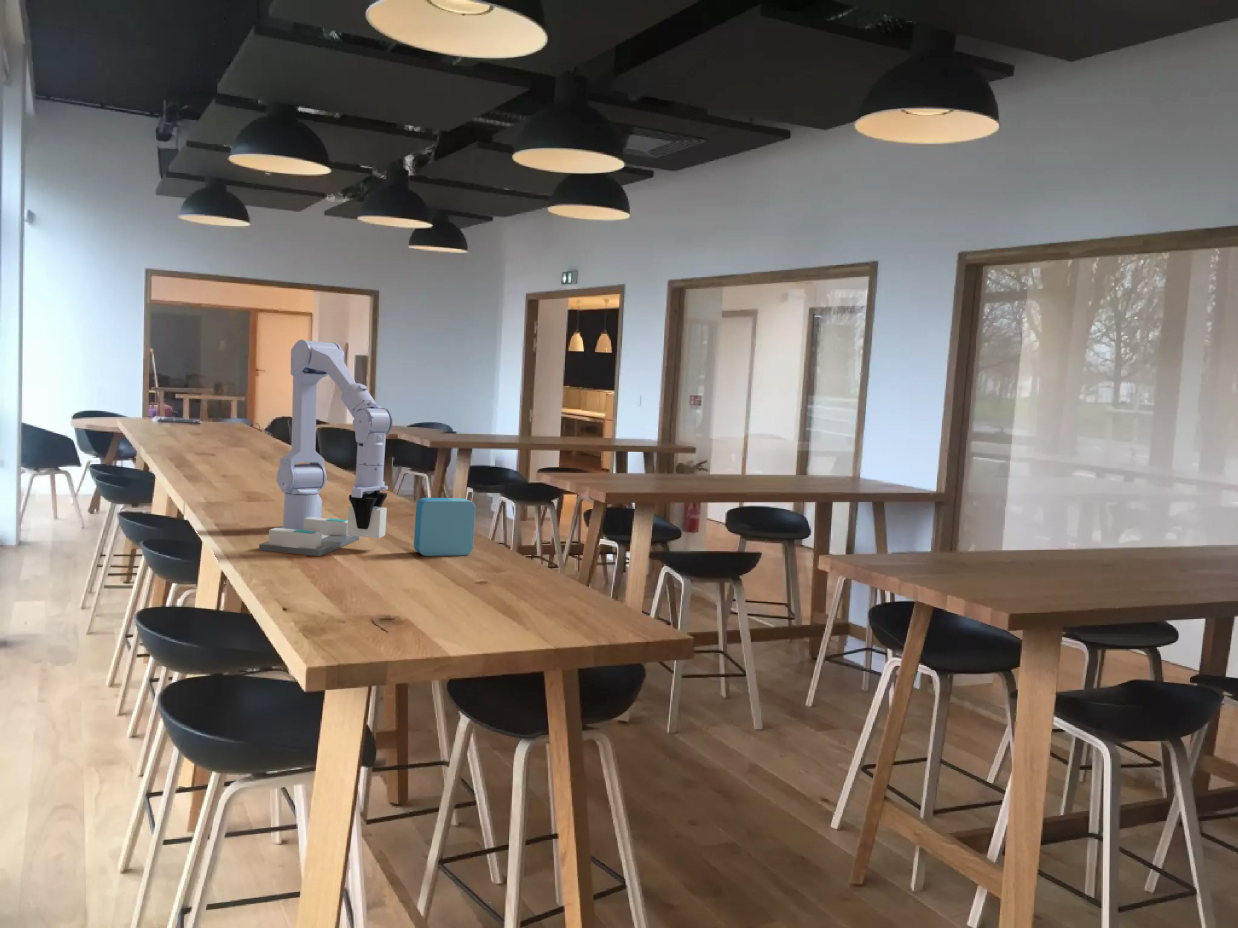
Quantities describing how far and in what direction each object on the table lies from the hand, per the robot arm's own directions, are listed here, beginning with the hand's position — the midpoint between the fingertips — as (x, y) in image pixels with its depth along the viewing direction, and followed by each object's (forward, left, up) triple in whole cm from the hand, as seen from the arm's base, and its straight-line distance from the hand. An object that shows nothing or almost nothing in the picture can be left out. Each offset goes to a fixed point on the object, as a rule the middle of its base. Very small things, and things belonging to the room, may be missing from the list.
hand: (366, 527), depth 207 cm
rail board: (0, -12, -5) cm, 13 cm away
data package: (-4, +16, -5) cm, 17 cm away
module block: (0, 0, -2) cm, 2 cm away
